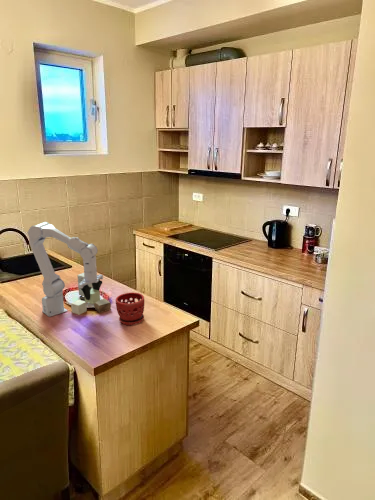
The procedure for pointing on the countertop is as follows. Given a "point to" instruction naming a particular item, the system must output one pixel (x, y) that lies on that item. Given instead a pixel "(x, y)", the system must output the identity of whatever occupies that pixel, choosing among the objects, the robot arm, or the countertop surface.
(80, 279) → the supplement box
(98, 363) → the countertop surface
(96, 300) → the sage cube
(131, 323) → the plant pot
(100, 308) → the walnut block
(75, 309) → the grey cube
